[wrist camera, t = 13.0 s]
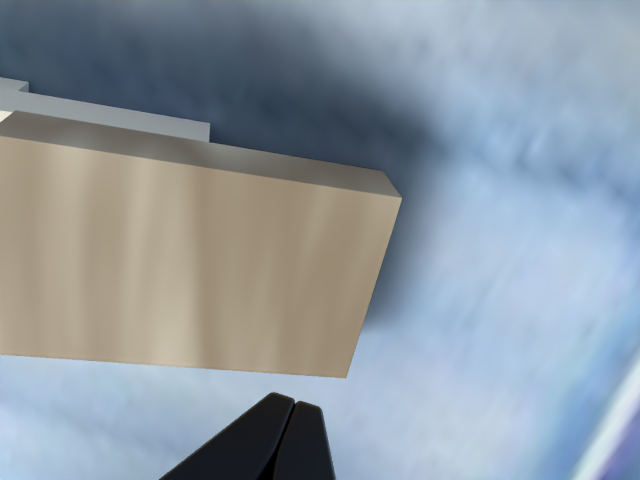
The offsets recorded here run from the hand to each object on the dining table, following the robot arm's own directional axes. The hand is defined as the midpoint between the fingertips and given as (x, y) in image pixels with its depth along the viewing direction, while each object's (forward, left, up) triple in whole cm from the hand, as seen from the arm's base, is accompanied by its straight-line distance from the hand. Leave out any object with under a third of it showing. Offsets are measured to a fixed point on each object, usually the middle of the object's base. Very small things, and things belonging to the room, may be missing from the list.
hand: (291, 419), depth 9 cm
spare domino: (0, 0, -5) cm, 5 cm away
